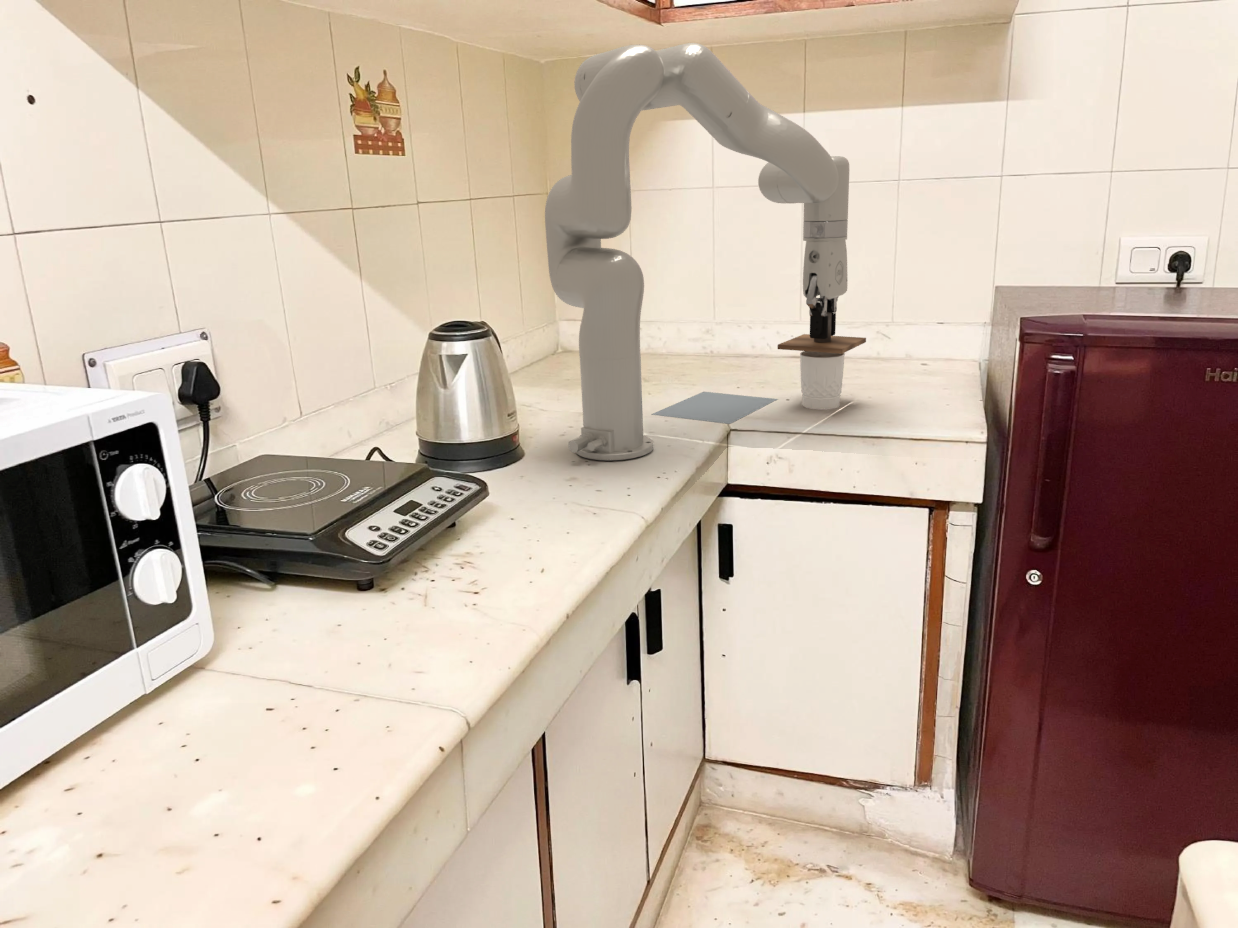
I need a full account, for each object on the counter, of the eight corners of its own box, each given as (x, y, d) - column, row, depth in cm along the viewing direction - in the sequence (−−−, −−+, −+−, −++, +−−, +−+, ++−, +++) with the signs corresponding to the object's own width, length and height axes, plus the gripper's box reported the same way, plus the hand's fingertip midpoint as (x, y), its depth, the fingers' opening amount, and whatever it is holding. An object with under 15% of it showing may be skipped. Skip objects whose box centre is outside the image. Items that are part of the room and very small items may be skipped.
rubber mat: (729, 426, 158) (729, 423, 158) (651, 416, 167) (651, 414, 167) (777, 401, 174) (777, 399, 174) (703, 393, 183) (703, 391, 183)
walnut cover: (842, 353, 157) (843, 319, 156) (777, 349, 164) (777, 316, 162) (865, 342, 167) (867, 310, 165) (803, 338, 173) (804, 307, 171)
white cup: (793, 410, 167) (794, 356, 164) (806, 400, 174) (807, 348, 171) (836, 413, 164) (838, 358, 161) (847, 403, 170) (849, 350, 167)
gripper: (828, 234, 151) (825, 345, 156) (862, 228, 164) (858, 330, 169) (785, 235, 155) (784, 343, 160) (822, 228, 168) (819, 328, 173)
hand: (822, 335), depth 165 cm, fingers closed on walnut cover, 2 cm apart
